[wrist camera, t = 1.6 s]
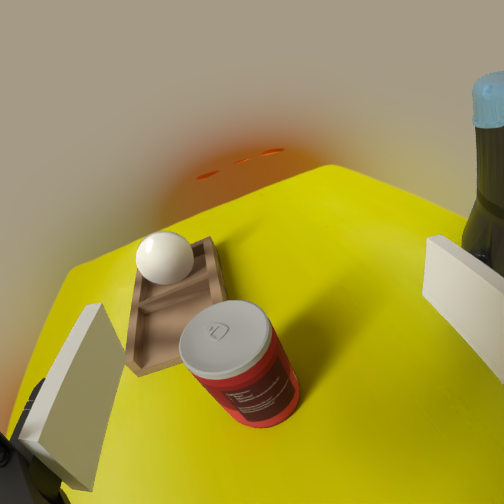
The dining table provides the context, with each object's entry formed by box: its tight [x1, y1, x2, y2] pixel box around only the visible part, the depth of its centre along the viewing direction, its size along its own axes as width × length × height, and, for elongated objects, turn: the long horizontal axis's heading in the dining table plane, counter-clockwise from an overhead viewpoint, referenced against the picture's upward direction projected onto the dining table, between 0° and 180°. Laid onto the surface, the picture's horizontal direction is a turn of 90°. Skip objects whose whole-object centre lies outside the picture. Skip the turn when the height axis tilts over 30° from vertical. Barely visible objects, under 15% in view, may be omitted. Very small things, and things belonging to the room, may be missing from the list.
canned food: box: [179, 300, 300, 428], centre depth 27 cm, size 8×8×11 cm
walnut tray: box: [125, 236, 228, 377], centre depth 46 cm, size 22×14×3 cm, turn 12°
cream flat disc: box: [136, 231, 194, 285], centre depth 48 cm, size 1×9×9 cm, turn 103°
